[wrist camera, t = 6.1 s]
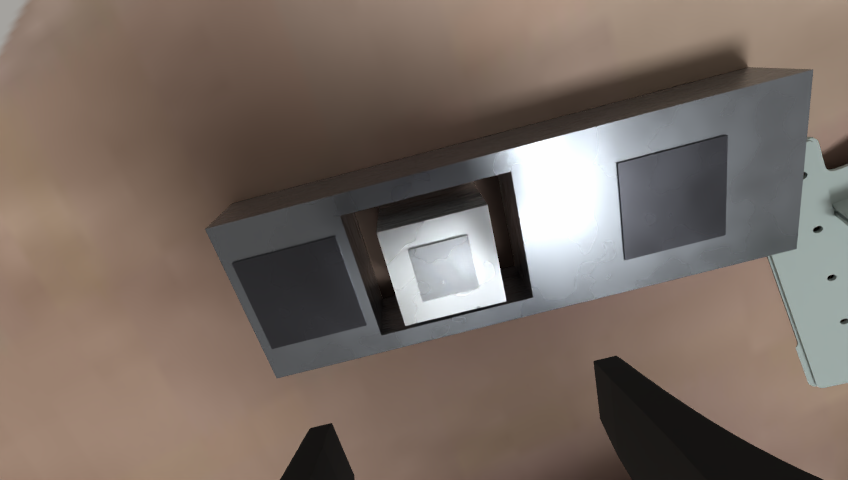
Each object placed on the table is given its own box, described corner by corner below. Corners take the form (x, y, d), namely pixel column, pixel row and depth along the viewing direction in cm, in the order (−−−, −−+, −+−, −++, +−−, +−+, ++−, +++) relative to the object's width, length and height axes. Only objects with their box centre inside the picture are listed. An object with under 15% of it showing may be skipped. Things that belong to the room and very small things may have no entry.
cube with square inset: (486, 257, 21) (507, 302, 17) (403, 278, 21) (405, 327, 17) (469, 175, 19) (488, 205, 15) (379, 198, 19) (376, 233, 16)
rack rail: (742, 223, 21) (798, 249, 18) (291, 336, 22) (276, 379, 19) (748, 67, 18) (815, 69, 15) (232, 203, 19) (203, 229, 16)
